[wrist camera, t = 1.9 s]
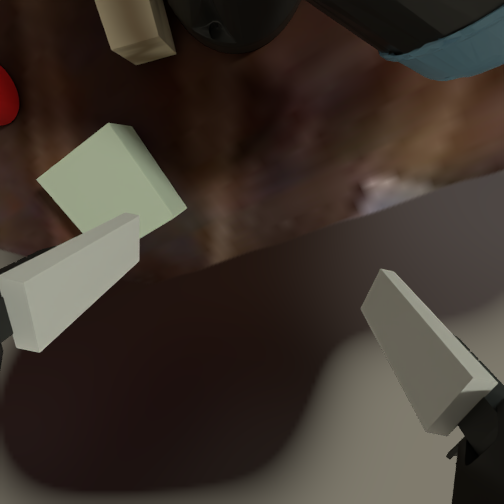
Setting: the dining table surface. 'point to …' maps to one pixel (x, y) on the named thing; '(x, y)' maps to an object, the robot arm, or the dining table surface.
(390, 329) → the robot arm
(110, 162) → the green block
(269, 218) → the dining table surface
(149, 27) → the maple cube
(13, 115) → the soda can
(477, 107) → the dining table surface
